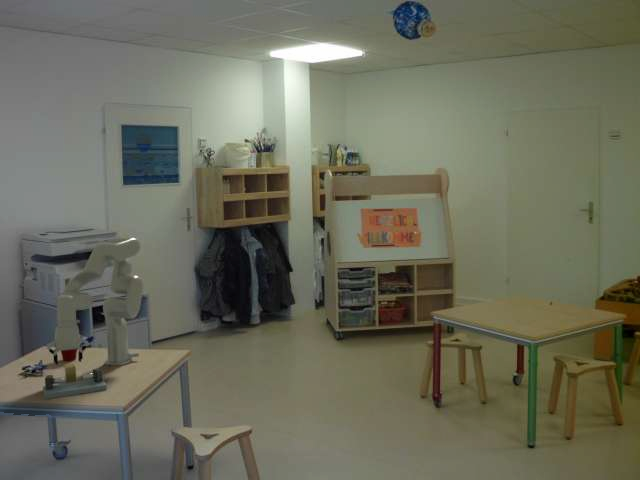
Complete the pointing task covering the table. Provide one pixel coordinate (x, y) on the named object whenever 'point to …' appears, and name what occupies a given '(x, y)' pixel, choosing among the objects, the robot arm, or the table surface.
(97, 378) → the shaft
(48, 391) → the board
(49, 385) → the shaft
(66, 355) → the plastic cup
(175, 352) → the table surface
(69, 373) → the olive yellow block
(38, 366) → the toy airplane
